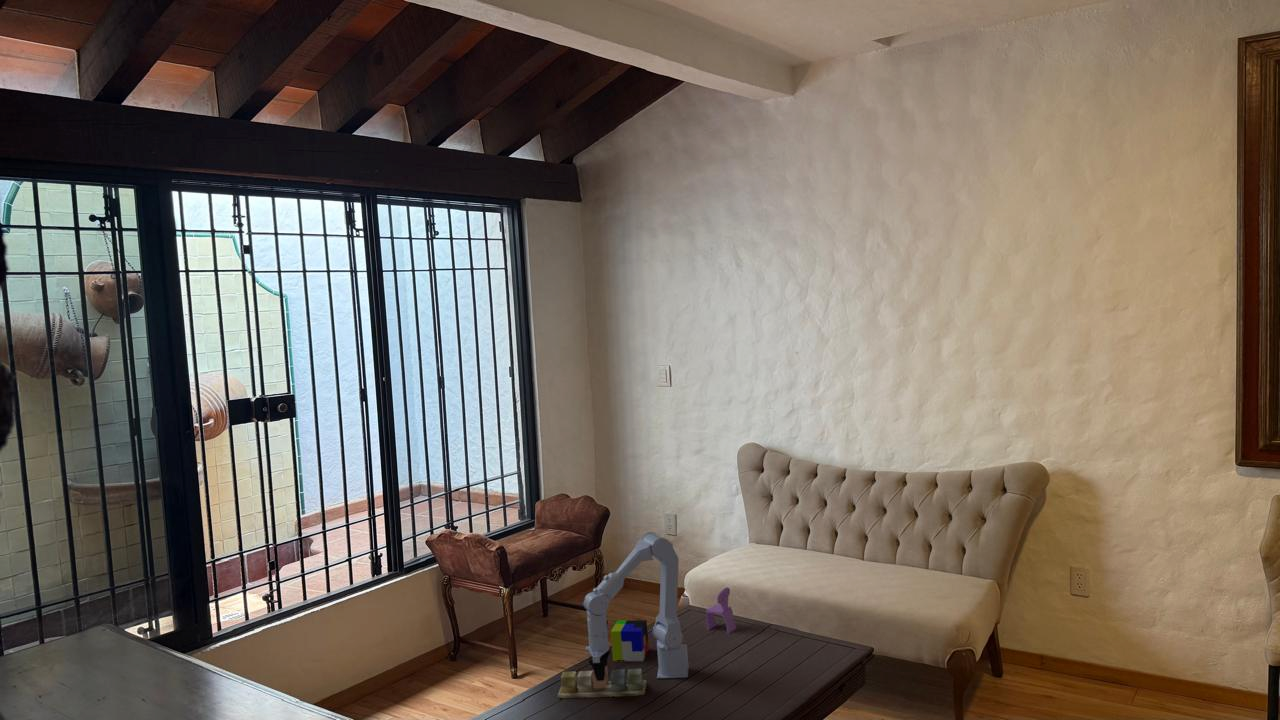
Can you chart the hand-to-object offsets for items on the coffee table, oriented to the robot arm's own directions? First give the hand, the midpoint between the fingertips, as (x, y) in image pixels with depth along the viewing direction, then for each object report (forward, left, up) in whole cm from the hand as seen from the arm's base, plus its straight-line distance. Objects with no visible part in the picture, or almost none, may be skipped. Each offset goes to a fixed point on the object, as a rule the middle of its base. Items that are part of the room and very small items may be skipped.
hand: (601, 676), depth 267 cm
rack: (0, 0, -4) cm, 4 cm away
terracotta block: (0, 0, -2) cm, 2 cm away
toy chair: (-36, -47, -5) cm, 59 cm away
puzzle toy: (-6, -27, -5) cm, 28 cm away
